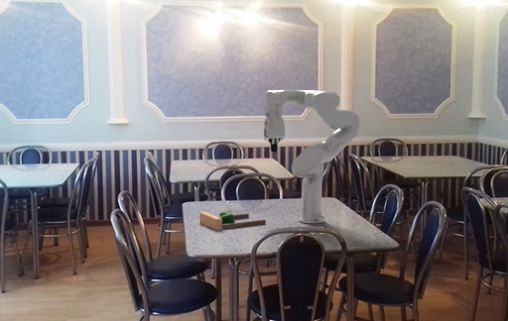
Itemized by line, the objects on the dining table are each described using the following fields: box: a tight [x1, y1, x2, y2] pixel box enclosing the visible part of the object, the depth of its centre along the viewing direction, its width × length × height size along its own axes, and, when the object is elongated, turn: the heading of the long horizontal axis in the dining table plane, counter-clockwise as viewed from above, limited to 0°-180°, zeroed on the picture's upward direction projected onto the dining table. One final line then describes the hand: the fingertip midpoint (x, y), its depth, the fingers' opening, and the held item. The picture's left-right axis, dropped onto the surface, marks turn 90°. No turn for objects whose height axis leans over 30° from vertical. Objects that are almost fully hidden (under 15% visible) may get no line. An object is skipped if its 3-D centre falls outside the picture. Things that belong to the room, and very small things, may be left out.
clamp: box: [218, 209, 236, 224], centre depth 288 cm, size 12×6×9 cm, turn 0°
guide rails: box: [218, 212, 267, 230], centre depth 290 cm, size 18×22×2 cm
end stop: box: [199, 211, 223, 231], centre depth 284 cm, size 18×3×5 cm, turn 29°
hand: (274, 151), depth 306 cm, fingers closed
